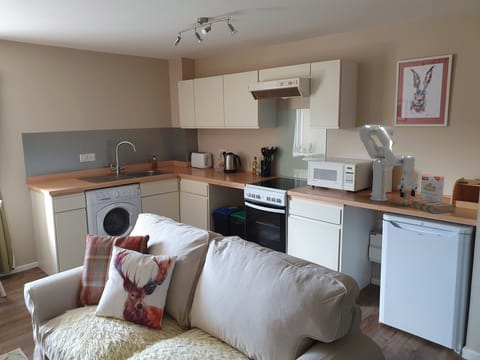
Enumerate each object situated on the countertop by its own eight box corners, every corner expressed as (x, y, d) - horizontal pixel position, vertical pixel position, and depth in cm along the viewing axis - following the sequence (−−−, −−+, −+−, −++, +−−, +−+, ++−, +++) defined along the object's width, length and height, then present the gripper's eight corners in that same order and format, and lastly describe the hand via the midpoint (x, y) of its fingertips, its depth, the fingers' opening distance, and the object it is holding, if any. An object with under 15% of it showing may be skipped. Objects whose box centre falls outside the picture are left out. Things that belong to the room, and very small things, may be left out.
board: (410, 207, 258) (411, 200, 257) (428, 205, 263) (429, 198, 262) (433, 213, 239) (434, 206, 238) (452, 211, 244) (453, 204, 243)
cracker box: (419, 202, 274) (421, 174, 271) (424, 201, 277) (426, 173, 274) (437, 205, 262) (439, 176, 259) (442, 204, 265) (444, 176, 262)
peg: (402, 204, 265) (402, 192, 263) (405, 204, 266) (406, 192, 264) (405, 205, 262) (406, 193, 260) (409, 205, 263) (410, 193, 261)
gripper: (402, 174, 253) (401, 198, 256) (422, 173, 259) (421, 196, 261) (394, 173, 261) (393, 197, 263) (413, 172, 266) (413, 195, 268)
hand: (407, 196), depth 262 cm, fingers open, 9 cm apart
